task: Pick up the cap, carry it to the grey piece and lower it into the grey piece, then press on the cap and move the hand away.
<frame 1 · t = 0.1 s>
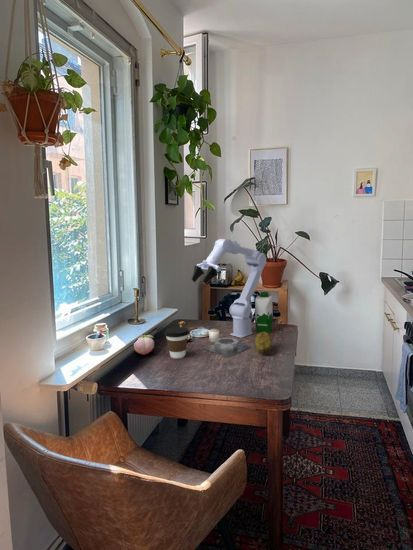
hand: (198, 281, 185), 32 cm above the table, tool tilted 50°, fingers open, 7 cm apart
potato: (263, 351, 184), on the table
coffee cup: (177, 356, 182), on the table
grey piece: (226, 348, 189), on the table
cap: (214, 340, 201), on the table
decorative fruit: (144, 355, 185), on the table
milk carton: (264, 331, 214), on the table
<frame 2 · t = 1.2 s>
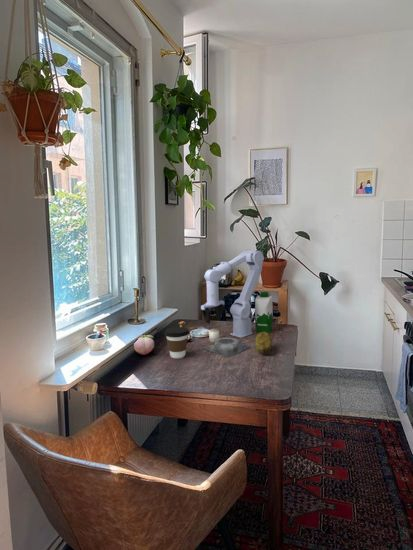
hand: (213, 321, 200), 10 cm above the table, tool pointing down, fingers open, 7 cm apart
nothing on the table moved.
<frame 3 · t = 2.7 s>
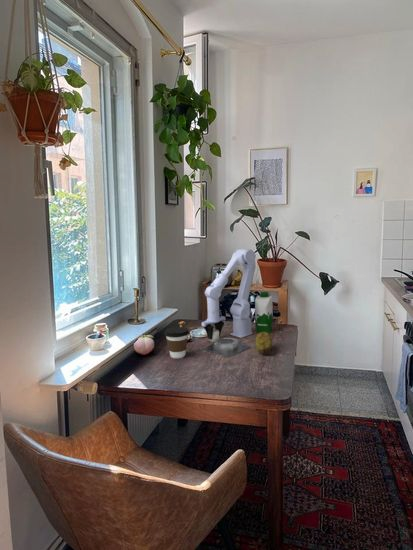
hand: (214, 337, 201), 1 cm above the table, tool pointing down, fingers closed on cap, 5 cm apart
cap: (214, 340, 201), on the table, touching gripper
everything else where it was.
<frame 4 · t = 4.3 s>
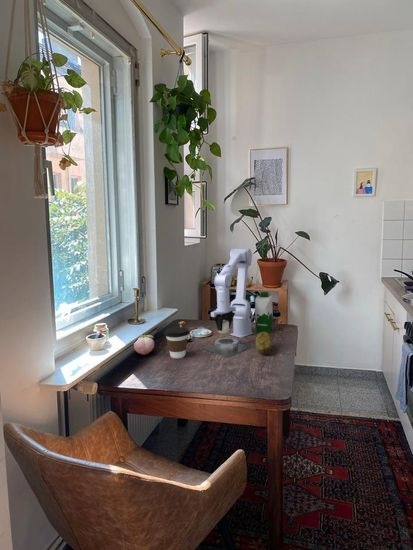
hand: (224, 328, 189), 9 cm above the table, tool pointing down, fingers closed on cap, 5 cm apart
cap: (223, 332, 189), point 7 cm above the table, touching gripper
everything else where it was.
when the fingers open (4 cm above the table, at t = 5.9 s): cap drops 2 cm, resting on grey piece.
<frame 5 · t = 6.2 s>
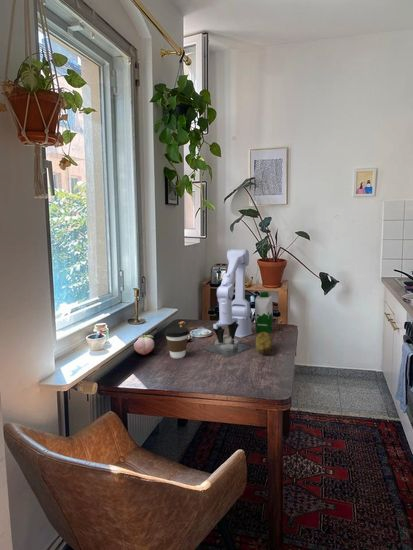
hand: (226, 340, 188), 4 cm above the table, tool pointing down, fingers open, 7 cm apart
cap: (226, 347, 189), point 1 cm above the table, touching grey piece
everything else where it was.
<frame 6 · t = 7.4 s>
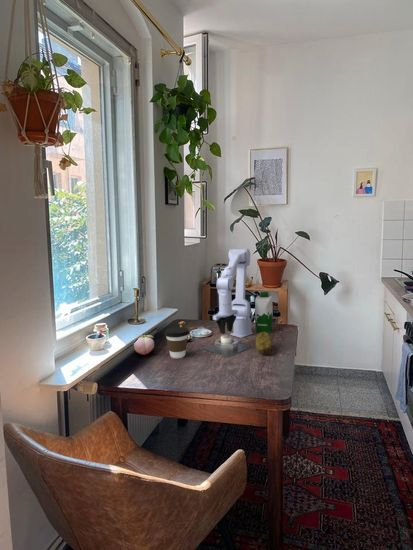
hand: (226, 332, 187), 8 cm above the table, tool pointing down, fingers open, 4 cm apart
nothing on the table moved.
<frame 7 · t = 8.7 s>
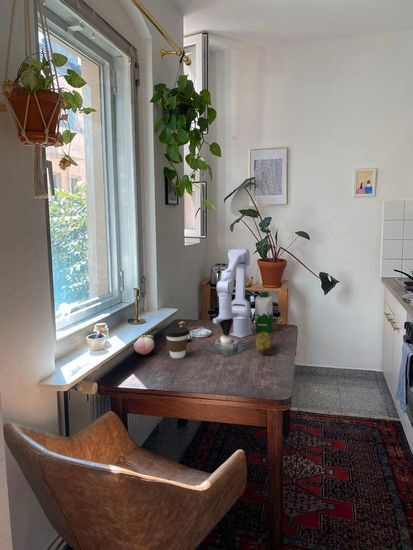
hand: (226, 335, 188), 6 cm above the table, tool pointing down, fingers closed
nothing on the table moved.
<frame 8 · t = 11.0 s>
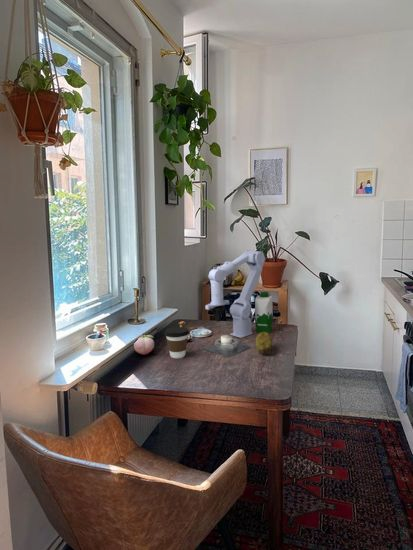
hand: (218, 321, 199), 10 cm above the table, tool pointing down, fingers closed
nothing on the table moved.
at the end: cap 0.2 cm off-centre on the grey piece, point 0.7 cm above the grey piece's base; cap tilted 2°; the gripper is holding nothing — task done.
